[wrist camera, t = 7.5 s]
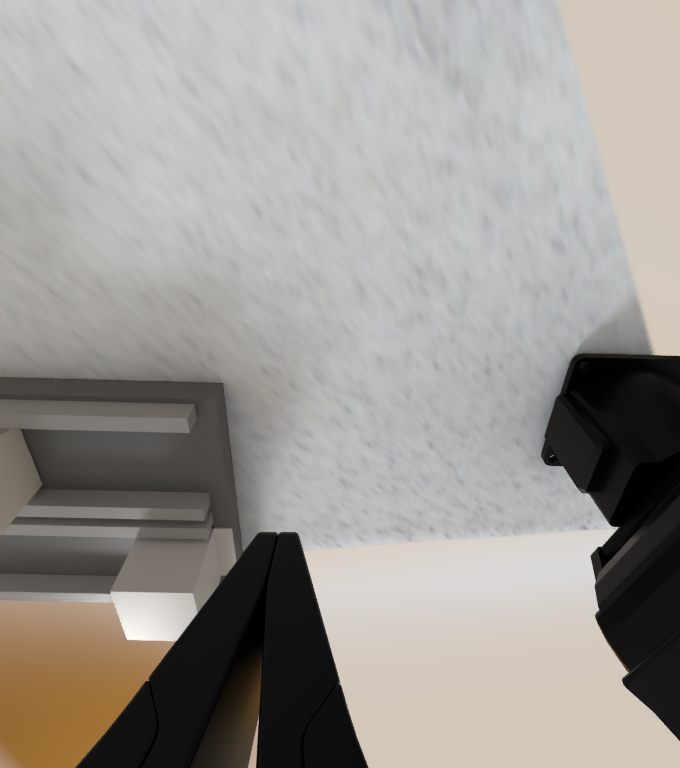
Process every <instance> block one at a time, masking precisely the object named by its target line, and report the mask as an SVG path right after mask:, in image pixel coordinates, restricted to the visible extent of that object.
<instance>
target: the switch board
mask: <svg viewBox="0 0 680 768" xmlns="http://www.w3.org/2000/svg"><path fill="white" fill-rule="evenodd" d="M0 428H6V429H21V432H22V434H23V437H24V439H25V442H26V444H27V447H28V449H29V452H30V454H31V457H32V459H33V462H34V464H35V467H36V469H37V472H38V474H39V477H40V479H41V482H42V484H43V485H42V486H41V487H40V488H39V490H38V491H37V492H36V493H35V495H34V496H33V497H32V498H31V499H30V501H29V502H28V503H27V504H26V505H25V507H24V508H23V509H22V510H21V511H20V513H19V514H18V515H17V516H16V517H15V519H14V520H13V521H12V522H11V523H10V525H9V526H8V527H7V528H6V529H5V531H4V532H3V533H2V534H1V535H0V600H18V601H67V602H113V599H112V596H111V593H110V590H111V588H112V586H113V584H114V582H115V580H116V578H117V576H118V574H119V572H120V570H121V568H122V566H123V564H124V562H125V560H126V558H127V556H128V554H129V552H130V550H131V548H132V546H133V544H134V542H135V540H136V538H163V539H208V537H209V534H210V531H211V529H214V533H215V540H216V546H217V552H218V559H219V565H220V571H221V578H220V582H219V584H220V583H221V581H222V580H223V579H224V577H225V576H226V575H227V573H228V572H229V571H230V569H231V568H232V567H233V566H234V564H235V563H236V562H237V560H238V559H239V558H240V556H241V555H242V554H243V551H242V543H241V534H240V526H239V517H238V509H237V500H236V492H235V483H234V475H233V466H232V458H231V449H230V441H229V432H228V424H227V415H226V407H225V398H224V390H223V383H196V382H158V381H119V380H81V379H42V378H4V377H0Z"/></svg>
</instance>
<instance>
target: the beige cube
mask: <svg viewBox="0 0 680 768" xmlns="http://www.w3.org/2000/svg"><path fill="white" fill-rule="evenodd" d="M42 485H43V484H42V482H41V479H40V477H39V474H38V472H37V469H36V467H35V464H34V462H33V459H32V457H31V454H30V452H29V449H28V447H27V444H26V442H25V439H24V437H23V434H22V432H21V429H6V428H0V535H1V534H2V533H3V532H4V531H5V529H6V528H7V527H8V526H9V525H10V523H11V522H12V521H13V520H14V519H15V517H16V516H17V515H18V514H19V513H20V511H21V510H22V509H23V508H24V507H25V505H26V504H27V503H28V502H29V501H30V499H31V498H32V497H33V496H34V495H35V493H36V492H37V491H38V490H39V488H40V487H41V486H42Z"/></svg>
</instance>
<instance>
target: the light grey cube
mask: <svg viewBox="0 0 680 768" xmlns="http://www.w3.org/2000/svg"><path fill="white" fill-rule="evenodd" d="M220 578H221V571H220V565H219V559H218V552H217V546H216V540H215V533H214V529H211V531H210V534H209V537H208V539H163V538H136V540H135V542H134V544H133V546H132V548H131V550H130V552H129V554H128V556H127V558H126V560H125V562H124V564H123V566H122V568H121V570H120V572H119V574H118V576H117V578H116V580H115V582H114V584H113V586H112V588H111V590H110V593H111V596H112V599H113V602H114V604H115V607H116V610H117V612H118V616H119V618H120V621H121V624H122V627H123V630H124V632H125V635H126V638H127V640H157V641H158V640H159V641H161V640H162V641H163V640H164V641H177V639H178V638H179V637H180V636H181V634H182V633H183V632H184V630H185V629H186V628H187V626H188V625H189V624H190V622H191V621H192V620H193V618H194V617H195V616H196V614H197V613H198V612H199V610H200V609H201V608H202V606H203V605H204V604H205V603H206V601H207V600H208V599H209V597H210V596H211V595H212V593H213V592H214V591H215V589H216V588H217V587H218V585H219V582H220Z"/></svg>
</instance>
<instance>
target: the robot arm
mask: <svg viewBox="0 0 680 768" xmlns="http://www.w3.org/2000/svg"><path fill="white" fill-rule="evenodd" d="M583 362H586V364H585V365H584V366H583V367H580V368H579V366H580V364H582V363H583ZM545 439H546V440H545V443H544V446H543V449H542V453H541V457H542V459H543V461H544V463H545V464H546V465H549V466H563V467H564V468H565V470H566V471H567V473H568V474H569V476H570V477H571V479H572V480H573V482H574V484H575V485H576V487H577V488H578V489H579V490H580V491H581V492H582V493H589V494H590V496H591V497H592V499H593V500H594V502H595V503H596V505H597V506H598V508H599V509H600V511H601V512H602V514H603V515H604V517H605V518H606V520H607V521H608V523H609V524H610V525H611V526H613V527H619V528H618V529H617V530H616V532H615V533H614V534H613V535H612V536H611V537H610V538H609V539H608V541H607V542H606V543H605V544H604V545H603V546H602V547H598V548H597V549H596V550H595V551H594V552H593V553H592V555H591V560H592V565H593V570H594V574H595V579H596V583H595V590H596V596H597V602H598V607H599V609H600V610H599V611H598V612H597V613H596V615H595V617H596V620H597V623H598V625H599V627H600V629H601V631H602V633H603V635H604V637H605V639H606V641H607V643H608V644H609V646H610V647H611V648H612V650H613V651H614V653H615V654H616V656H617V657H618V659H619V660H620V662H621V663H622V664H623V666H624V667H625V669H626V670H627V671H628V672H629V673H628V674H627V675H626V676H625V677H623V679H622V681H623V684H624V685H625V687H626V688H627V689H628V690H629V691H630V692H631V693H633V694H634V695H635V696H636V697H637V698H638V699H639V700H640V701H642V702H643V703H644V704H645V705H646V706H647V707H649V708H650V709H651V710H652V711H653V712H654V713H655V714H656V715H657V716H658V717H659V719H660V720H661V721H662V722H663V723H664V724H665V725H666V726H667V727H668V728H669V730H670V731H671V732H672V733H673V734H674V735H675V736H676V737H677V738H678V740H679V741H680V356H659V355H622V354H585V353H584V354H579V355H577V356H575V357H574V358H573V359H572V360H571V362H570V365H569V368H568V371H567V374H566V377H565V381H564V384H563V387H562V390H561V393H560V395H559V396H558V397H557V398H556V401H555V404H554V407H553V410H552V414H551V417H550V420H549V423H548V426H547V429H546V433H545ZM552 455H554V456H553V457H550V456H552ZM549 457H550V458H549ZM258 717H259V727H258V745H257V763H256V768H368V765H367V763H366V760H365V758H364V755H363V752H362V749H361V747H360V744H359V742H358V739H357V736H356V733H355V730H354V727H353V723H352V720H351V717H350V714H349V711H348V708H347V704H346V701H345V697H344V693H343V690H342V687H341V685H340V680H339V676H338V673H337V669H336V666H335V663H334V659H333V655H332V652H331V648H330V645H329V641H328V637H327V634H326V630H325V627H324V623H323V620H322V616H321V613H320V609H319V605H318V602H317V599H316V595H315V591H314V588H313V584H312V580H311V577H310V573H309V570H308V566H307V563H306V559H305V556H304V552H303V548H302V545H301V541H300V538H299V535H298V533H296V532H281V533H279V535H278V533H276V532H260V533H258V534H257V535H256V536H255V538H254V539H253V540H252V542H251V543H250V544H249V546H248V547H247V548H246V550H245V551H244V552H243V554H242V555H241V556H240V558H239V559H238V560H237V562H236V563H235V564H234V566H233V567H232V568H231V569H230V571H229V572H228V573H227V575H226V576H225V577H224V579H223V580H222V581H221V583H220V584H219V585H218V587H217V588H216V589H215V591H214V592H213V593H212V595H211V596H210V597H209V599H208V600H207V601H206V603H205V604H204V605H203V606H202V608H201V609H200V610H199V612H198V613H197V614H196V616H195V617H194V618H193V620H192V621H191V622H190V624H189V625H188V626H187V628H186V629H185V630H184V632H183V633H182V634H181V636H180V637H179V638H178V639H177V641H176V642H175V643H174V645H173V646H172V647H171V649H170V650H169V651H168V653H167V654H166V655H165V657H164V658H163V659H162V661H161V662H160V663H159V665H158V666H157V667H156V669H155V670H154V671H153V672H152V674H151V675H150V676H149V681H146V682H145V683H144V684H143V685H142V687H141V688H140V689H139V691H138V692H137V693H136V695H135V696H134V697H133V699H132V700H131V701H130V703H129V704H128V705H127V706H126V708H125V709H124V710H123V711H122V713H121V714H120V715H119V716H118V718H117V719H116V720H115V722H114V723H113V724H112V725H111V727H110V728H109V729H108V730H107V732H106V733H105V734H104V735H103V736H102V737H101V739H100V740H99V741H98V742H97V743H96V744H95V745H94V747H93V748H92V749H91V750H90V751H89V753H87V755H86V756H85V757H84V758H83V759H82V760H81V762H80V763H79V764H78V765H77V766H76V767H75V768H248V764H249V759H250V755H251V750H252V745H253V740H254V736H255V730H256V726H257V721H258Z"/></svg>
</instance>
